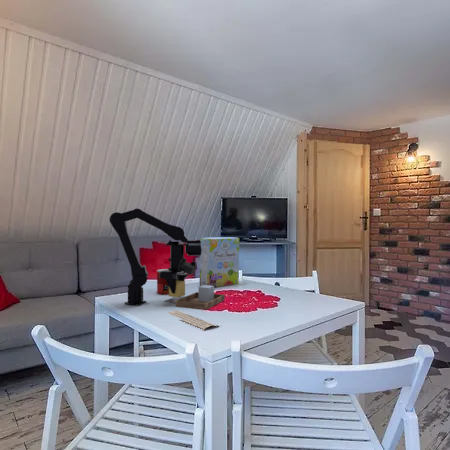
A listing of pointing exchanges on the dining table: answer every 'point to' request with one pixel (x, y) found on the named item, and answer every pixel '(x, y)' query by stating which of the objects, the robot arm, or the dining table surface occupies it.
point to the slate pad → (172, 300)
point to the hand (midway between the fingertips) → (176, 292)
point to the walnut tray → (193, 301)
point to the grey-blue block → (205, 293)
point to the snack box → (219, 261)
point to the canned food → (162, 284)
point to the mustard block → (178, 289)
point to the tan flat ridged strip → (191, 320)
